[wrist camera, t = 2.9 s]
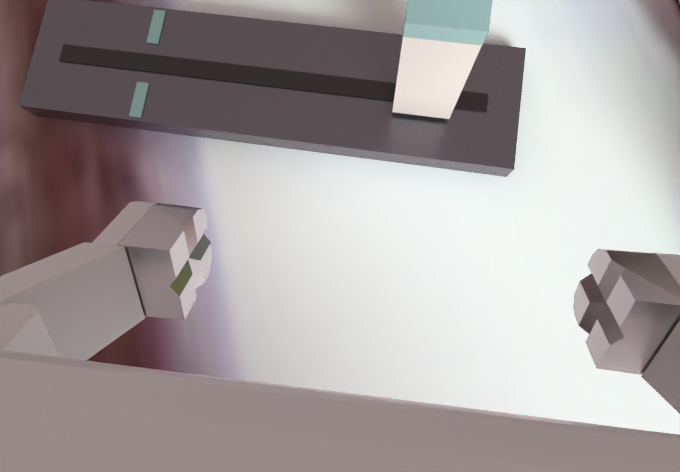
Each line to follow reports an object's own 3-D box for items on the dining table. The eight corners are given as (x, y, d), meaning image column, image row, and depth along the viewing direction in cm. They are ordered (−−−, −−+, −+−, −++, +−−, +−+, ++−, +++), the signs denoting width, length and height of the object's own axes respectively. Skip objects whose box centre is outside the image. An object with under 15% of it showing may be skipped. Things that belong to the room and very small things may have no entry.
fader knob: (449, 120, 28) (488, 31, 19) (391, 113, 28) (404, 22, 19) (454, 72, 29) (496, -36, 20) (398, 66, 29) (414, -44, 20)
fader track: (506, 176, 29) (514, 168, 28) (34, 115, 32) (17, 104, 30) (517, 61, 30) (526, 47, 29) (63, 10, 33) (47, -5, 31)
